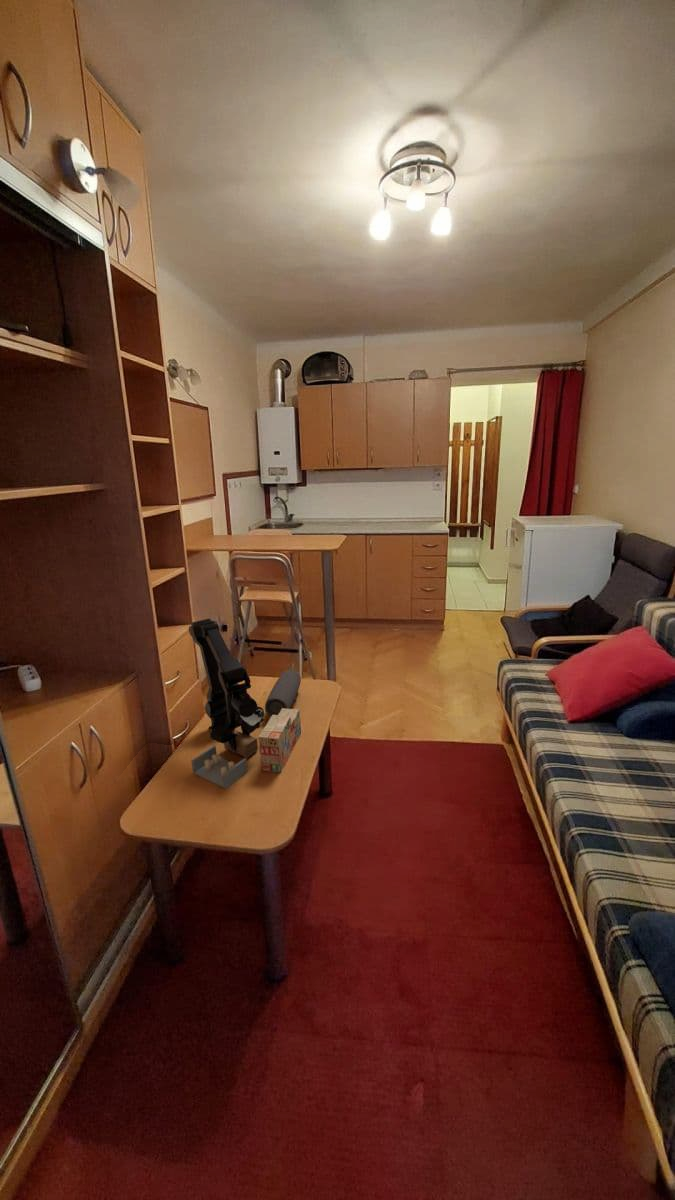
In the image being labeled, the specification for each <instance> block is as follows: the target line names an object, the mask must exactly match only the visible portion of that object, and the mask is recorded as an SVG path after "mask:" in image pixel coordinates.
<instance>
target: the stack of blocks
mask: <svg viewBox="0 0 675 1200" xmlns="http://www.w3.org/2000/svg"><path fill="white" fill-rule="evenodd" d="M301 723H302V722H301V715H300V709H299V708H298V709H296V708H290V709H285V708H282V709H281V711H280V713H279V714H278V715H272V716H270V718H269V719H268V721H267V724H266V725H264V728H263V729H262V731H261V732H260V733H259V735H258V743H259V747H258V749H259V754H260V761H261V762H260V763H261V771H262V772H268V773H269V772H270V773H277V774H278V773H280V774H281V773H282V772H283V770H284V768H285V767H286V764H287V762H288V761H289V758H290V756H291V754H292V751H293V750H294V747H295V745H297V742H298V740H299V738H300V736H301V734H302V726H301Z"/></svg>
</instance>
